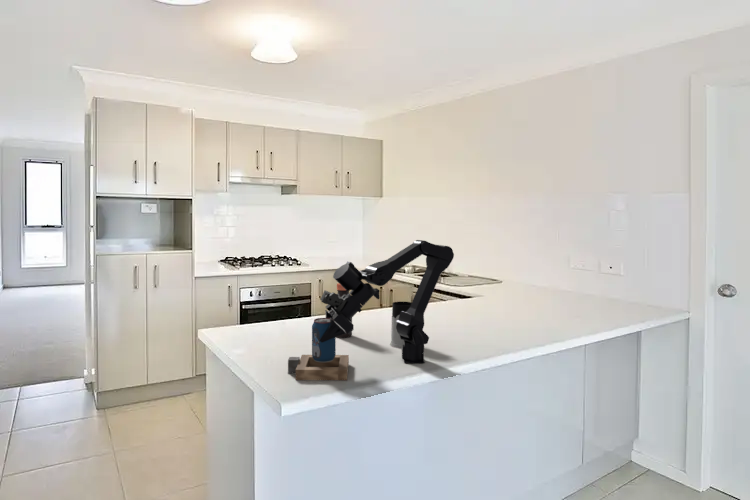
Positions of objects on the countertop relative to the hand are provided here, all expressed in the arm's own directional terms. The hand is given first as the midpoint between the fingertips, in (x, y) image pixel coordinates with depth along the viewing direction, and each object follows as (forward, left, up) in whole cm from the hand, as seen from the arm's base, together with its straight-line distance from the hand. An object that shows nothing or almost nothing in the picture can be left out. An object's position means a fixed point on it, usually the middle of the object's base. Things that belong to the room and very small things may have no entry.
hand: (319, 338), depth 150 cm
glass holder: (-26, -33, -11) cm, 44 cm away
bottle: (-5, -42, -10) cm, 44 cm away
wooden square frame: (0, 0, -10) cm, 10 cm away
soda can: (-1, 0, -7) cm, 7 cm away
